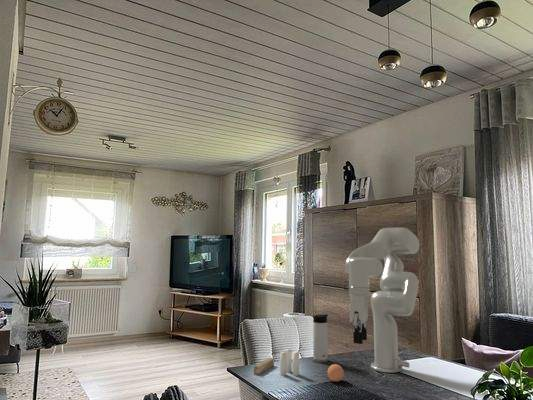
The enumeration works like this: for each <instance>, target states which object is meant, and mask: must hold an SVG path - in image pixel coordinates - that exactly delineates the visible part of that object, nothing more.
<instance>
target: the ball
mask: <svg viewBox="0 0 533 400" xmlns="http://www.w3.org/2000/svg"><path fill="white" fill-rule="evenodd" d="M344 374H345V373H344V369H343V368H342V366H341V365H339V364H336V363H333V364H331V365H330V366H329V367H328V368H327V376H328V378H329V379H330V381H332V382H340V381H341V380H342V379H343V378H344V376H345V375H344Z"/></svg>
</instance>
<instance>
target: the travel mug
mask: <svg viewBox="0 0 533 400" xmlns="http://www.w3.org/2000/svg"><path fill="white" fill-rule="evenodd" d="M327 317H329V314H316V315H313V317H312V319H313V321H312V336H313V337H312V338H313V339H312V344H313V345H312V350H313V351H312V352H313V353H312V354H313V355H312V356H313V357H312V360H313V361H314V362H315V363H327V362H328V318H327Z"/></svg>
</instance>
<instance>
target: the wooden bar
mask: <svg viewBox="0 0 533 400" xmlns="http://www.w3.org/2000/svg"><path fill="white" fill-rule="evenodd" d="M274 365H275V359H274V357H268V358H266V359H265V360H262V361H261V362H259V363H257V364H255V365H254V366H253V375H258V376H259V375H261V374H262V373H263V372H265V371H267V370H269V369H270V368H272V367H274Z"/></svg>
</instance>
